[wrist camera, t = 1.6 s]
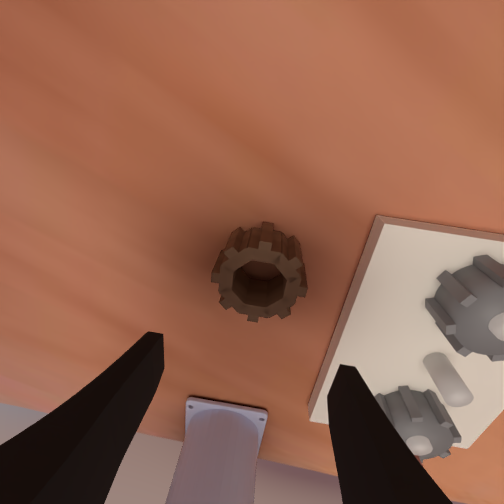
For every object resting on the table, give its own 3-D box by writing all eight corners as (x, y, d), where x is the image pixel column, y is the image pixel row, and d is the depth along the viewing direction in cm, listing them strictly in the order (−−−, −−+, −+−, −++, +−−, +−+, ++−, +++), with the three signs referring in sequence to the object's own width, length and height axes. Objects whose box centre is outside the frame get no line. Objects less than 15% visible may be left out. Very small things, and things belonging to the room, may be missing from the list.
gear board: (457, 431, 25) (501, 509, 20) (307, 404, 25) (314, 475, 20) (608, 250, 16) (751, 310, 11) (376, 214, 17) (416, 257, 12)
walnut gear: (294, 300, 20) (296, 328, 18) (218, 288, 20) (208, 314, 18) (312, 229, 18) (317, 250, 15) (224, 215, 18) (214, 233, 15)
